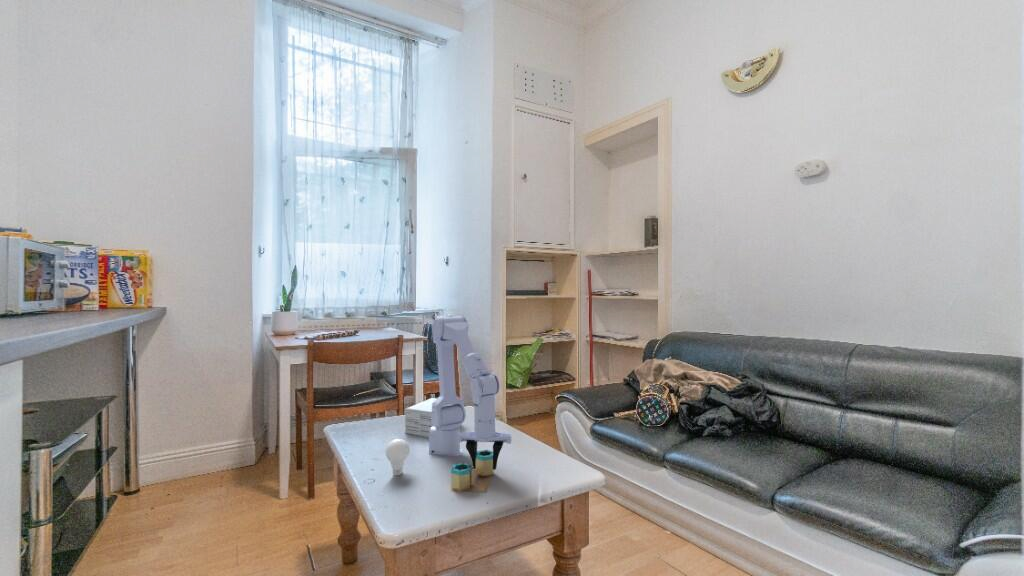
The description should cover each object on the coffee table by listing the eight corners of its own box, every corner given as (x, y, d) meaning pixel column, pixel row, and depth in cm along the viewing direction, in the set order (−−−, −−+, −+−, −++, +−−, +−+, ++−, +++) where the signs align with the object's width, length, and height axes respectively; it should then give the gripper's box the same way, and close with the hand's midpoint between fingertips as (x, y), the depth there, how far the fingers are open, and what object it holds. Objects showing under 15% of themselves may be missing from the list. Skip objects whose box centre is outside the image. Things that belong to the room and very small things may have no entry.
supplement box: (434, 438, 154) (434, 412, 154) (404, 433, 159) (404, 408, 159) (459, 424, 169) (459, 400, 169) (431, 420, 175) (431, 397, 175)
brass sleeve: (474, 475, 118) (474, 457, 118) (478, 467, 124) (478, 449, 124) (492, 476, 118) (492, 457, 118) (495, 467, 123) (495, 449, 123)
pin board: (451, 496, 111) (451, 475, 111) (462, 474, 124) (462, 455, 124) (486, 498, 110) (486, 476, 110) (493, 475, 123) (493, 456, 123)
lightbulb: (397, 485, 118) (396, 445, 118) (380, 480, 121) (380, 440, 121) (414, 476, 123) (413, 437, 123) (398, 471, 126) (397, 433, 126)
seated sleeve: (449, 490, 111) (449, 471, 111) (454, 481, 117) (454, 462, 117) (468, 491, 111) (468, 472, 111) (472, 481, 116) (472, 463, 116)
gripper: (455, 422, 117) (456, 472, 118) (509, 424, 116) (509, 475, 116) (461, 414, 124) (461, 462, 125) (512, 416, 123) (512, 464, 123)
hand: (485, 467), depth 121 cm, fingers closed on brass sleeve, 5 cm apart
